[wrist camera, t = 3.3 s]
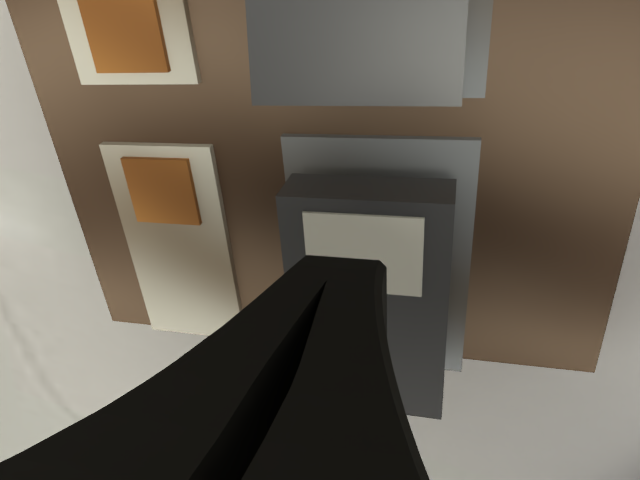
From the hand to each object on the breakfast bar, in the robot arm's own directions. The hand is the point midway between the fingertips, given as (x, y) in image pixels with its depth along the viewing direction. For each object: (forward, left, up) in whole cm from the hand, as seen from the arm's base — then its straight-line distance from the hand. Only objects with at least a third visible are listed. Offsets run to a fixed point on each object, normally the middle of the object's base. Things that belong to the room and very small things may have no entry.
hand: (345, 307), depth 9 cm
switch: (-2, 0, -3) cm, 3 cm away
